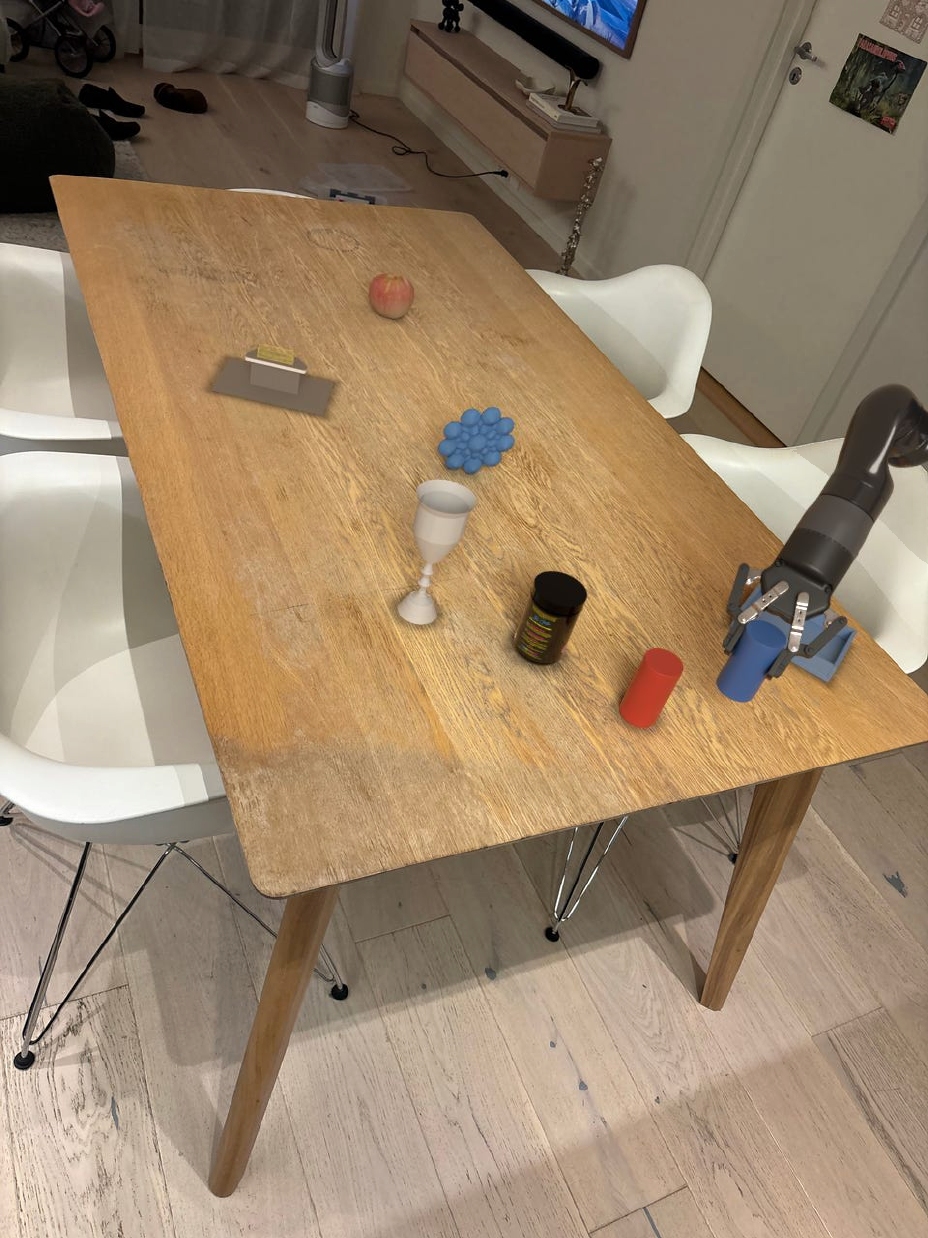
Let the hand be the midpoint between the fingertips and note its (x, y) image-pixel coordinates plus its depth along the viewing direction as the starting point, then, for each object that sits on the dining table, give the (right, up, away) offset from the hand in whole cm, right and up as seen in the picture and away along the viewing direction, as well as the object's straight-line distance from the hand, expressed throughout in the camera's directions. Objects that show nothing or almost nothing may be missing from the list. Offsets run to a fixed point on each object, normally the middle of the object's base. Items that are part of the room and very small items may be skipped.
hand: (747, 665), depth 106 cm
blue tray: (+14, +3, +26) cm, 30 cm away
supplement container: (-24, +1, +12) cm, 26 cm away
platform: (-64, +44, +46) cm, 90 cm away
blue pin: (0, -3, +5) cm, 6 cm away
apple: (-48, +66, +78) cm, 113 cm away
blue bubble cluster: (-32, +29, +40) cm, 59 cm away
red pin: (-11, -6, +7) cm, 15 cm away
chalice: (-39, +6, +12) cm, 41 cm away
